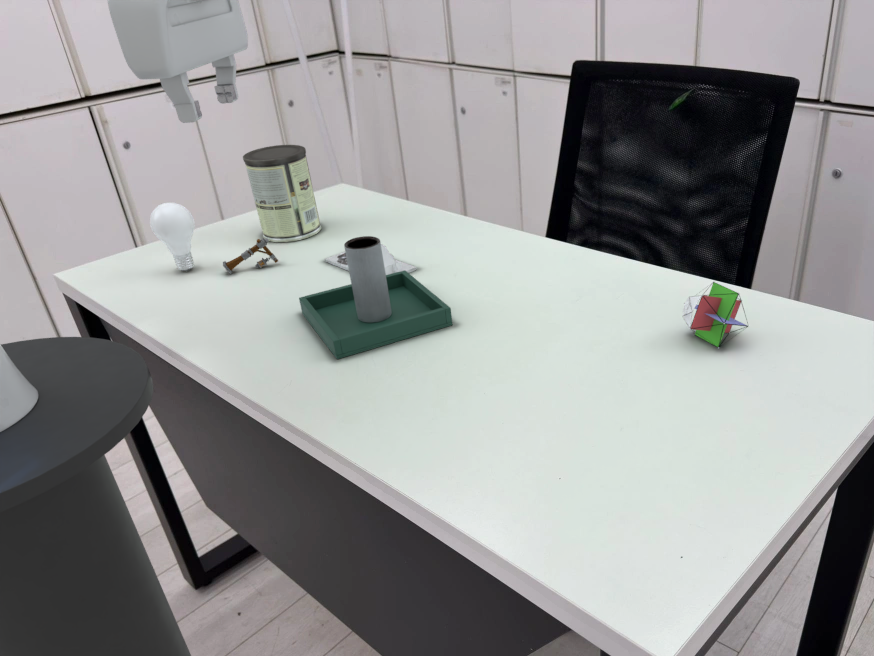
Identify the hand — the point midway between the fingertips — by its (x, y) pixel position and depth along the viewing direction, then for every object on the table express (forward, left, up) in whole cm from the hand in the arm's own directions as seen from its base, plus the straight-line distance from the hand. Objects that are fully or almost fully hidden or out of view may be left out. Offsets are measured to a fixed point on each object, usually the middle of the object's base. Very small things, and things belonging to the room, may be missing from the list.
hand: (211, 111), depth 78 cm
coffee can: (+14, +45, -29) cm, 55 cm away
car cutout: (+20, +21, -29) cm, 41 cm away
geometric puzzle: (+46, -28, -29) cm, 61 cm away
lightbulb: (-5, +38, -29) cm, 48 cm away
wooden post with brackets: (+4, +32, -29) cm, 44 cm away
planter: (+14, +2, -29) cm, 32 cm away
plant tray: (+14, +2, -29) cm, 32 cm away
